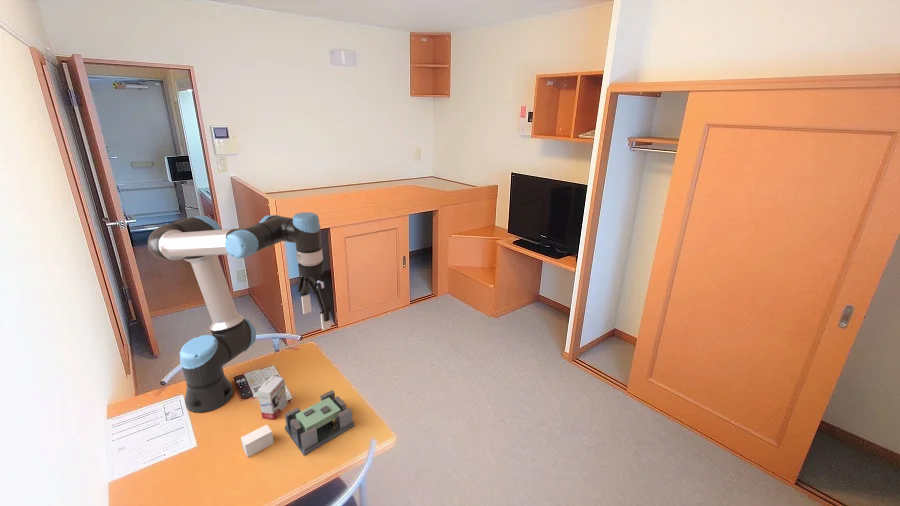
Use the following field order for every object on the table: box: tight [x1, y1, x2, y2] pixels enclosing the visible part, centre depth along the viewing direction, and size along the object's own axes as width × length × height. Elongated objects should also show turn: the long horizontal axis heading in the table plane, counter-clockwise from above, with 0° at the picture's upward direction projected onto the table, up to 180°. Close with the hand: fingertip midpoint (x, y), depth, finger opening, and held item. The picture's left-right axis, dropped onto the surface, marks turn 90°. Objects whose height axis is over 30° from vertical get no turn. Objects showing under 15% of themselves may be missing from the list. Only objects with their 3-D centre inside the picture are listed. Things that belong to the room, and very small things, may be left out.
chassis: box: [284, 389, 356, 457], centre depth 134 cm, size 14×18×7 cm
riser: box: [240, 424, 275, 458], centre depth 126 cm, size 4×8×5 cm, turn 134°
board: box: [296, 397, 341, 431], centre depth 133 cm, size 8×12×3 cm, turn 134°
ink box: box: [257, 375, 288, 421], centre depth 140 cm, size 9×5×12 cm, turn 168°
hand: (316, 320), depth 134 cm, fingers open, 13 cm apart
